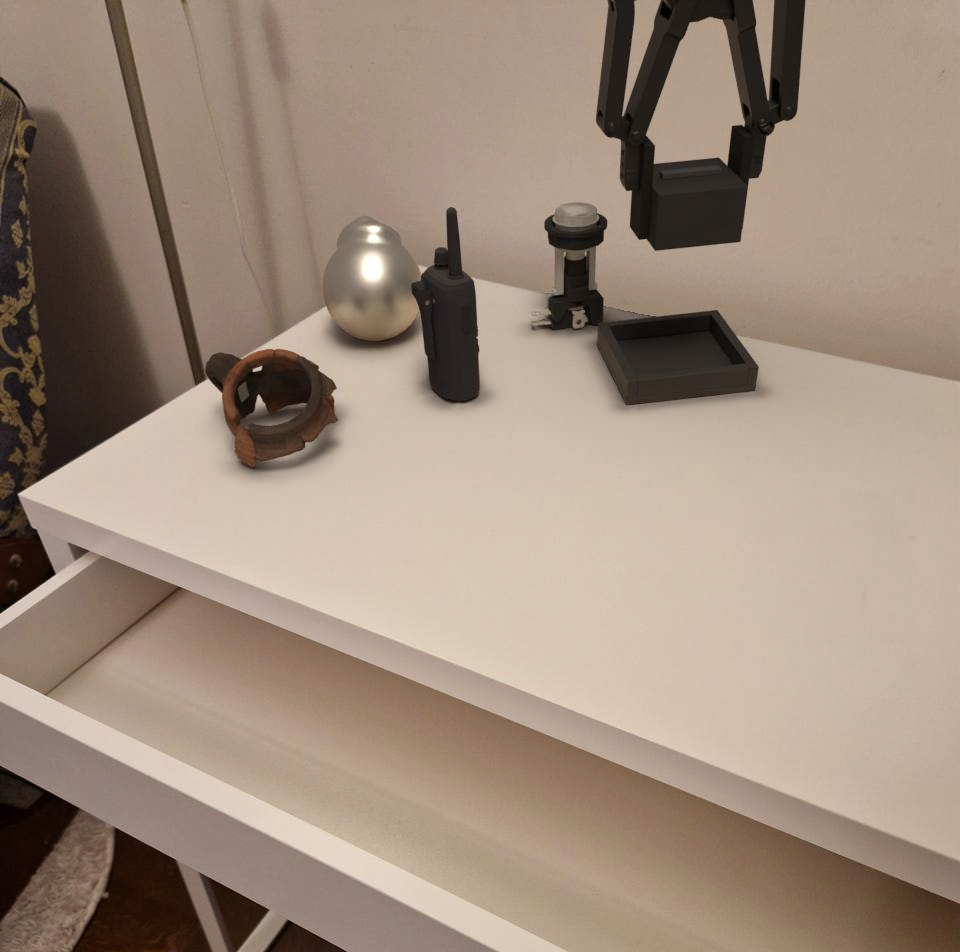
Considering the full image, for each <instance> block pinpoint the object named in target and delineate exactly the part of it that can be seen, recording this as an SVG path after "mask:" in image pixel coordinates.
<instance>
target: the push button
mask: <svg viewBox="0 0 960 952" xmlns="http://www.w3.org/2000/svg"><path fill="white" fill-rule="evenodd" d="M543 223H544V227H543V228H544V230H545V231H546V232H547V240H548V244H549V245H550V246H551V247H553V248H554V287H551V293H548V294H547V295H546V308H541V309H540V310H533V311H531V312H530V314H531V316H532V317H537V316H543V315H544V316H546V317H545V318H541V319H537V320H532V321H530V323H531V325H532V326H533V327H534V326H540V325H542V326H543V325H544V326H546V325H549V326H550V327H551V328H552V330H554V331H557V330H564V329H570V328H573V329H581V328H584V326H589V325H593V326H598V323H600V322H604V306H605V305H604V302H605V301H604V299H605V298H604V296H603V295H602V294H601V293H600V292H599V290H598V282H596V263H597V247H598V246H600V245H602V243H603V242H604V241H605V238H604V237H605V231H606V230H607V228H608V219H607V218H606V217H605V216H604V215H603V214H601V213H598V208H597V206H595V205H594V204H591V203H588V202H582V201H578V202H576V201H575V202H567V203H563V204H560V205H559V206H556V207H555V209H554V213H553V214H551V215H549V216H547V217H546V219H545V220H544V222H543Z"/></svg>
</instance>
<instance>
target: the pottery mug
mask: <svg viewBox="0 0 960 952" xmlns="http://www.w3.org/2000/svg"><path fill="white" fill-rule="evenodd" d="M260 367H261V369H260V370H256V371H254V370H255V369H257V368H260ZM204 373H205V375H206V377H207V378H208V380H209V381H210V383H211V384H212V385H213V386H214V387H215V388H216V389H217V390H218V391H219V392H220V393H221V399H222V408H223V413H224V418H225V422H226V426H227V427H228V429H229V431H230V433H231V434H232V435H233V436H234V453H235V454H236V456H237V459H238V460H239V461H240V462H242V463H244V464H245V465H247V466H249V467H250V468H252V469H253V468H255V466H256V465H257V463H258V462H259V463H263V462H268V461H272V460H276V459H279V458H283V457H287V456H290V455H293V454H295V453H298V452H301V451H303V450H305V448H306V443H313V442H315V440H316V439H317V438H319V435H320V434H321V433H322V432H323V431H324V429H325V428H326V427H327V426H328V425H330V424H335V423H336V422H338V421H339V418H338V417H337V415H336V413H335V398H334V396H333V395H332V394H333V393H334V391H335V390H337V389H338V387H337V385H336V383H335V381H334V380H333V379H332V378H330V377H329V376H328V375H326V374H325V373H323V372H322V371H320V366H319V365H318V364H316V363H315V362H313V361H312V360H309V359H308V358H307V357H305V356H303V355H300V354H299V353H297V352H294V351H292V350H288V349H283V348H275V349H273V348H266V349H262V350H257V351H255V352H252V353H250V354H248V355H247V356H245V357H244V358H240V357H238V356H235V355H234V354H232V353H227V352H226V353H225V352H216V353H213V354H212V355H211V356H210V357H209V359H208V360H207V361H206V363H205V368H204ZM258 396H259V397H260V398H261V401H262V403H263V404H264V405H265V409H266V411H267V412H268V414H269V415H274V414H275V413H277V412H278V411H279V410H283V409H284V408H286V407H290V406H295V405H301V404H305V406H304V408H303V409H302V410H301V412H299V414H297V415H295V417H293V418H291V419H290V420H287V421H285V422H282V423H279V424H274V425H273V424H272V425H262V424H257V423H254V422H250V421H249V422H247V428H246V427H245V426H244V424H243V423H242V421H243V420H245V419H246V418H247V417H248V416H249V415H251V414H253V413H254V412H255V410H256V404H257V401H258Z"/></svg>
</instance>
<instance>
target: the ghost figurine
mask: <svg viewBox="0 0 960 952" xmlns="http://www.w3.org/2000/svg"><path fill="white" fill-rule="evenodd" d="M409 251H410V250H408V249H407V248H405V246H404V245H403V241H402V237H401V235H400V233H399V231H397V230H396V229H394V228H392V226H390V225H388V224H385V223H382V222H379V221H378V220H376V219H374V218H373V217H371V216H368V215H362V216H361V215H360V216H358V217H357V218H355V219H353V221H351V222H349V223H348V224H346V225H345V226H344V227H343V228H342V229H341V231H340V232H339V234H338V237H337V240H336V249H335V251H334V252H333V253H332V254H331V256H330V257H329V259H328V261H327V263H326V265H325V268H324V271H323V276H322V296H323V300H324V304H325V307H326V309H327V311H328V313H329V315H330V317H331V318H332V320H333V321H334V322H335V323H336V324H337V326H338V327H339V328H341V329H342V330H343V331H344V332H345V333H347V334H348V335H350V336H352V337H354V338H357V339H360V340H364V341H368V342H379V341H381V342H382V341H385V340H386V341H387V340H390V339H392V338H395V337H396V336H398V335H400V334H401V333H403V332H405V331H406V330H407V329H408V328H409V327H410V326H411V325H412V324H413V323H414V321H415V319H416V318H417V316H418V315H419V313H420V310H419V307H418V304H417V301H416V299H415V297H414V296H413V294H412V290H411V284H412V283H413V282H417V281H421V275H422V273H421V269H420V267H419V265H418V262H417V261H416V259H415V258H414V256H413V255H412V254H411V252H409Z"/></svg>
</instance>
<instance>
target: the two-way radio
mask: <svg viewBox="0 0 960 952" xmlns="http://www.w3.org/2000/svg"><path fill="white" fill-rule="evenodd" d="M445 217H446V223H445V224H446V245H447V247H443V246H439V247H437V248H435V249H434V257H433V265H430V266H428V267H427V268H426V269H425V270H424V271H423V272H422V273H421V281H417V282H413V283H412V284H411V290H412V294H413V296H414V297H415V299H416V301H417V304H418V307H419V315H420V323H421V331H422V337H423V339H422V340H423V348H424V354H425V355H426V359H427V368H428V380H429V385H430V386H431V388H432V389H433V390H434V391H435V392H436V393H438V394H439V395H440V396H442V397H443V398H445V399H447V400H450V401H455V402H459V401H461V402H463V401H467V400H470V399H473V398H475V397H476V396H477V395H478V394H479V393H480V390H481V389H480V387H481V386H480V385H481V383H480V382H481V381H480V363H479V362H480V361H479V360H480V359H479V356H480V355H479V353H480V345H479V339H478V337H479V326H478V310H477V309H478V308H477V294H476V293H477V292H476V285H475V281H474V279H473V278H472V277H471V276H470V275H469V274H468V273H467V272H465V271H464V270H463V263H462V251H461V240H460V239H461V238H460V230H459V219H458V211H457V209H456V207H453V206H450V207H448V208H446V211H445Z"/></svg>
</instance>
